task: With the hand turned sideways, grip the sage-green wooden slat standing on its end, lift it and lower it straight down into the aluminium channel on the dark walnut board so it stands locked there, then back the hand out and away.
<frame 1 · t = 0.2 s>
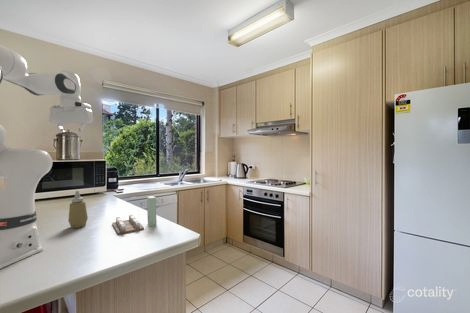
hand: (71, 132, 113), 48 cm above the counter, tool pointing down, fingers open, 8 cm apart
walnut channel board: (127, 227, 108), on the counter
sage slat: (152, 224, 112), on the counter
squeeze bottle: (78, 226, 111), on the counter
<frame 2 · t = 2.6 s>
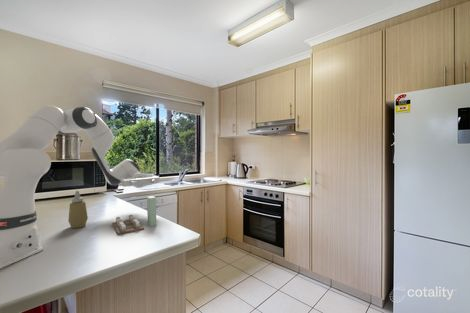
hand: (144, 182, 121), 20 cm above the counter, tool horizontal, fingers open, 8 cm apart
nothing on the counter moved.
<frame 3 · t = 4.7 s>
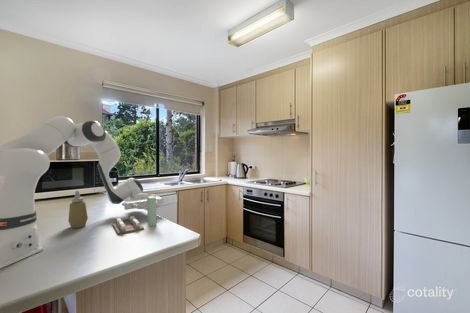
hand: (147, 205, 118), 8 cm above the counter, tool horizontal, fingers open, 8 cm apart
nothing on the counter moved.
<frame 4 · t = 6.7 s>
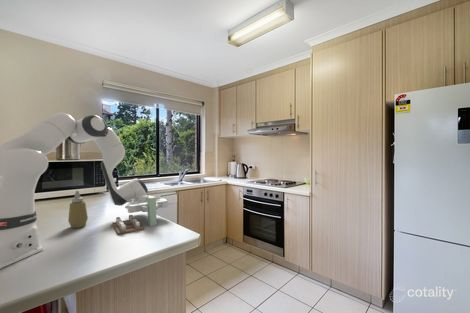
hand: (152, 208, 111), 8 cm above the counter, tool horizontal, fingers closed on sage slat, 3 cm apart
sage slat: (152, 224, 112), on the counter, touching gripper
everything else where it was.
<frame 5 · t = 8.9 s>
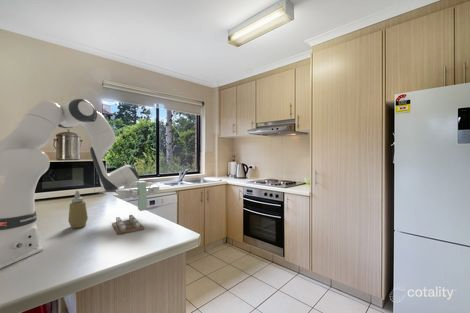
hand: (142, 192, 109), 17 cm above the counter, tool horizontal, fingers closed on sage slat, 3 cm apart
sage slat: (142, 209, 110), point 8 cm above the counter, touching gripper
everything else where it was.
when the fingers open (11 cm above the counter, at t = 11.1 s): sage slat drops 2 cm, resting on walnut channel board.
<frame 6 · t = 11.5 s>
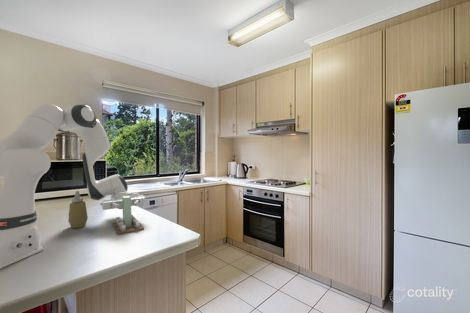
hand: (127, 205, 108), 11 cm above the counter, tool horizontal, fingers open, 7 cm apart
sage slat: (127, 224, 108), point 1 cm above the counter, touching walnut channel board
everything else where it was.
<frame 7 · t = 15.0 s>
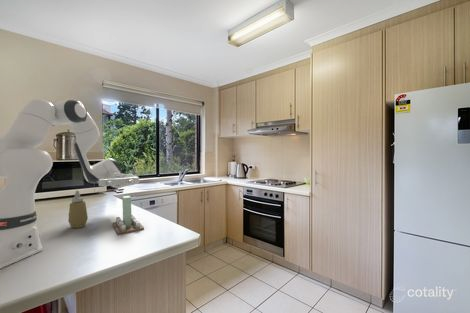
hand: (121, 182, 117), 21 cm above the counter, tool horizontal, fingers open, 8 cm apart
nothing on the counter moved.
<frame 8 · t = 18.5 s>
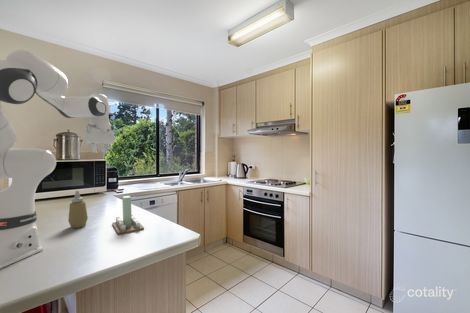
hand: (100, 152, 114), 37 cm above the counter, tool pointing down, fingers open, 8 cm apart
nothing on the counter moved.
at the end: sage slat 0.0 cm from the walnut channel board (horizontally); sage slat point 1.0 cm above the counter; sage slat tilted 0° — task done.
